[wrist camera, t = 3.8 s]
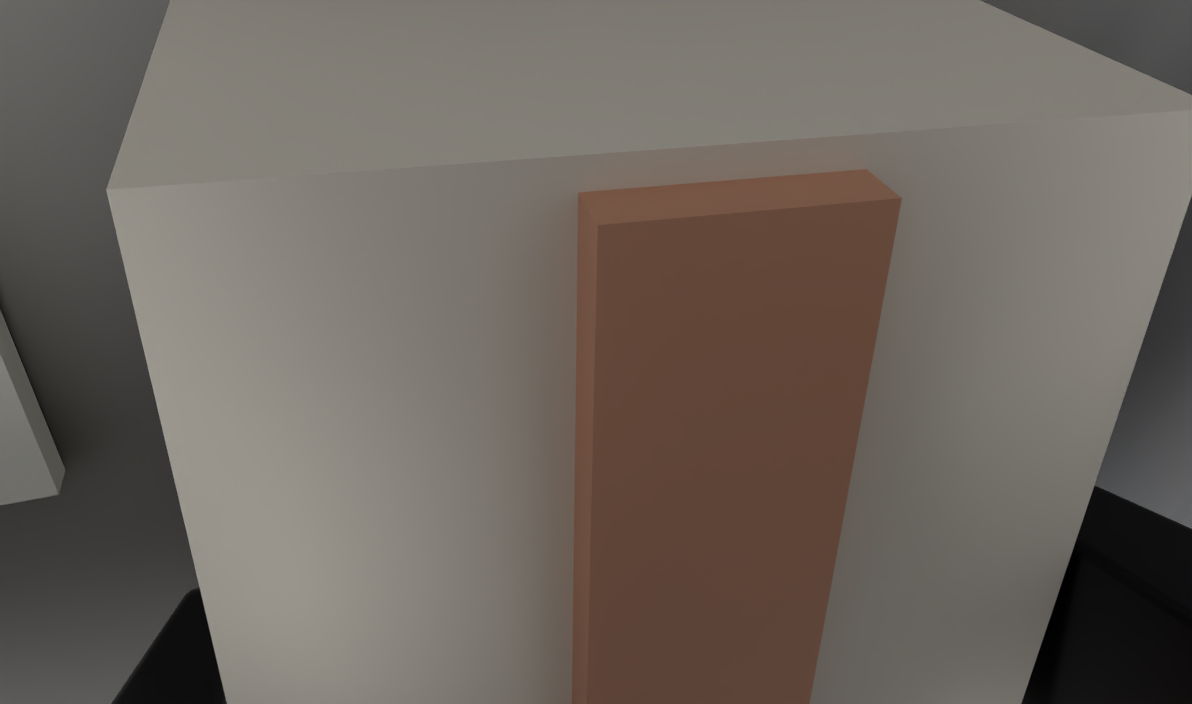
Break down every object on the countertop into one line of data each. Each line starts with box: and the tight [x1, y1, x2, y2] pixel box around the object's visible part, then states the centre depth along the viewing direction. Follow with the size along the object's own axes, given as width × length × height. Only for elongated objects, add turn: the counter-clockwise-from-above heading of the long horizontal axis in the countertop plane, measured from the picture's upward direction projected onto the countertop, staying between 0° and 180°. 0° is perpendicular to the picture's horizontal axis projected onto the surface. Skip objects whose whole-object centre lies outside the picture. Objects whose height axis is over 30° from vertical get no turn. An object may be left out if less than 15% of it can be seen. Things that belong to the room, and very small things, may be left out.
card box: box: [106, 0, 1192, 704], centre depth 9 cm, size 9×6×4 cm, turn 179°
